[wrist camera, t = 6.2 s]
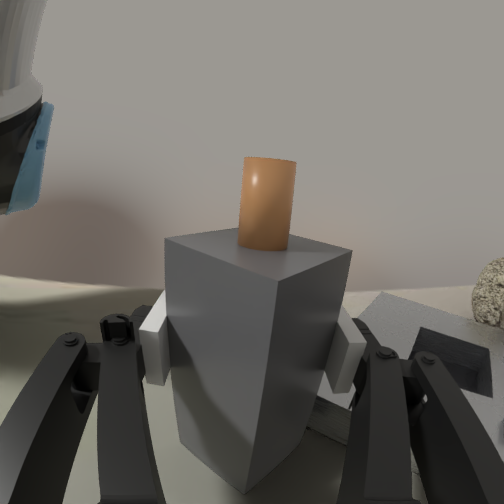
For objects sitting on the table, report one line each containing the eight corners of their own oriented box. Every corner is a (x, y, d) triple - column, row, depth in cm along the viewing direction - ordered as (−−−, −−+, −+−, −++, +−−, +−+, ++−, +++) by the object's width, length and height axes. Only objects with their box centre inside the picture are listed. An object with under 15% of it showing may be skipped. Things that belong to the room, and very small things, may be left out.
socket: (281, 412, 16) (290, 373, 15) (375, 314, 31) (382, 286, 30) (522, 495, 4) (557, 461, 3) (513, 358, 19) (525, 331, 18)
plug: (180, 442, 13) (168, 154, 9) (238, 405, 17) (260, 163, 13) (244, 494, 10) (292, 153, 6) (299, 443, 14) (362, 173, 10)
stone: (501, 350, 21) (530, 271, 18) (458, 316, 30) (478, 247, 28) (521, 343, 22) (546, 272, 19) (481, 313, 31) (499, 250, 28)
